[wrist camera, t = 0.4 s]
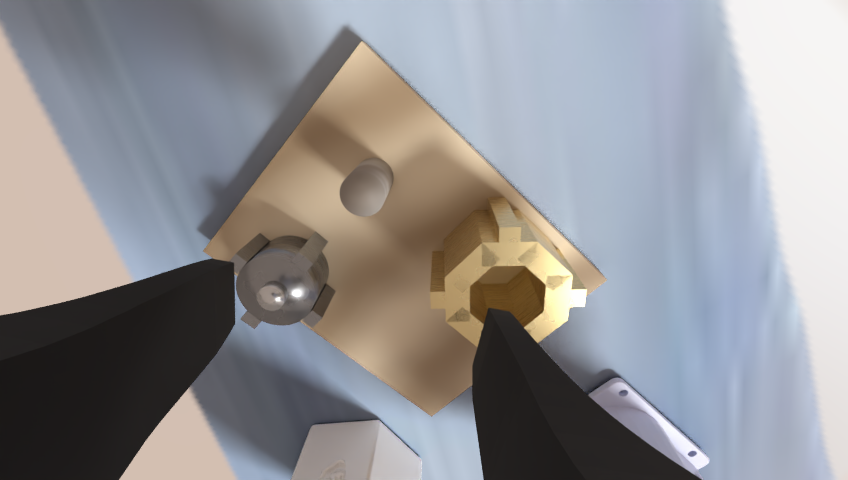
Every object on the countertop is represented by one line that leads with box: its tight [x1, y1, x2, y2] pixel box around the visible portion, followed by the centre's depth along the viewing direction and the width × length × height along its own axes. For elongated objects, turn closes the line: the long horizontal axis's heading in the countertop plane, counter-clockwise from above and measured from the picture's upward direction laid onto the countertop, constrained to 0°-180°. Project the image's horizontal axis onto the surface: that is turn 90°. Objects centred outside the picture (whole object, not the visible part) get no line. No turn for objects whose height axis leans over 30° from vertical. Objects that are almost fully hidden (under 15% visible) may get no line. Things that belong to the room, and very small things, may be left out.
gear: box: [229, 231, 336, 329], centre depth 19 cm, size 5×5×3 cm
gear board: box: [203, 41, 607, 417], centre depth 19 cm, size 16×13×4 cm
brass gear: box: [430, 197, 587, 347], centre depth 18 cm, size 5×5×4 cm
